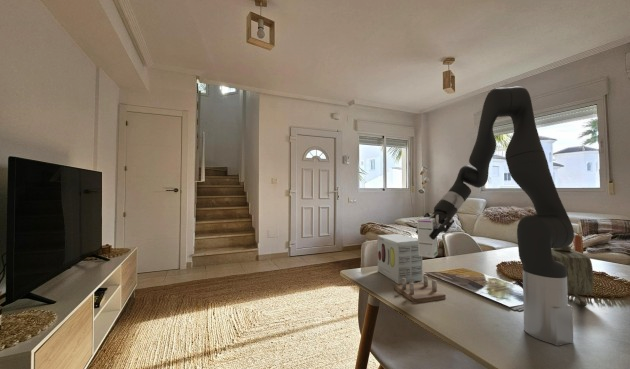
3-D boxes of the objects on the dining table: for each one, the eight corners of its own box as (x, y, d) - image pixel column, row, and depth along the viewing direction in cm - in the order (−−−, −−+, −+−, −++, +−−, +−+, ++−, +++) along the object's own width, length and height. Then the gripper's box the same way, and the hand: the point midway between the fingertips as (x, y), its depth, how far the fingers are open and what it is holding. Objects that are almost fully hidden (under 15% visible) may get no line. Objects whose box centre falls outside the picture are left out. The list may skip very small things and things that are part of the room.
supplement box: (376, 271, 125) (376, 235, 125) (399, 269, 129) (399, 233, 129) (398, 284, 108) (397, 242, 109) (423, 280, 112) (423, 239, 113)
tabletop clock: (594, 309, 84) (592, 234, 85) (562, 307, 86) (560, 233, 87) (561, 292, 99) (559, 228, 99) (534, 290, 100) (533, 227, 101)
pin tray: (445, 298, 94) (445, 283, 94) (415, 303, 90) (414, 287, 90) (422, 285, 106) (422, 272, 106) (395, 289, 103) (394, 275, 103)
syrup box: (434, 258, 94) (433, 219, 94) (417, 255, 98) (417, 218, 98) (437, 255, 98) (437, 217, 99) (422, 252, 102) (421, 216, 102)
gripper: (430, 198, 107) (407, 226, 104) (456, 199, 93) (430, 232, 90) (441, 210, 108) (418, 238, 105) (469, 213, 94) (443, 246, 91)
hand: (424, 235), depth 98 cm, fingers closed on syrup box, 7 cm apart
